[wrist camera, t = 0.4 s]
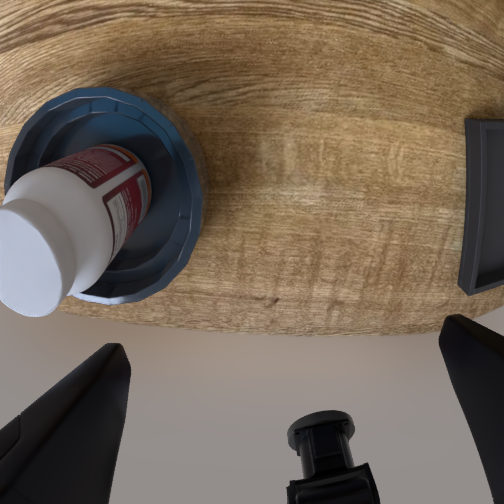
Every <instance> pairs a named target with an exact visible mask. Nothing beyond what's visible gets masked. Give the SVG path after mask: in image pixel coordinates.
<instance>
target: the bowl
mask: <svg viewBox="0 0 504 504" xmlns="http://www.w3.org/2000/svg"><path fill="white" fill-rule="evenodd" d="M102 144H113V145H118V146H121V147H123V148H125V149H127V150H129V151H130V152H132V153H133V154H135V155H136V156H137V157H138V158H139V159H140V161H141V162H142V163H143V165H144V166H145V168H146V170H147V172H148V175H149V177H150V181H151V190H152V194H151V202H150V206H149V209H148V211H147V213H146V215H145V217H144V219H143V220H142V222H141V223H140V224H139V225H138V227H137V228H136V229H135V231H134V232H133V233H132V234H131V236H130V237H129V238H128V240H127V241H126V242H125V244H124V245H123V246H122V248H121V249H120V250H119V251H118V253H117V254H116V256H115V257H114V258H113V260H112V261H111V263H110V264H109V265H108V267H107V268H106V270H105V271H104V272H103V274H102V275H101V276H100V278H99V279H98V280H97V281H96V282H95V283H94V284H93V285H92V286H91V287H89V288H88V289H86V290H84V291H82V292H80V293H78V294H74V295H72V296H74V297H76V298H78V299H81V300H83V301H88V302H94V303H100V304H106V305H117V304H124V303H131V302H138V301H141V300H143V299H145V298H147V297H149V296H151V295H153V294H154V293H156V292H158V291H160V290H162V289H164V288H165V287H167V286H168V285H169V283H170V282H171V281H172V280H173V279H174V278H175V277H176V276H177V275H178V274H179V273H180V272H181V271H182V270H183V268H184V267H185V266H186V264H187V263H188V261H189V259H190V256H191V254H192V252H193V249H194V247H195V245H196V242H197V240H198V238H199V235H200V233H201V229H202V226H203V223H204V220H205V217H206V214H207V205H208V195H209V184H210V182H209V176H208V172H207V167H206V163H205V158H204V154H203V150H202V148H201V146H200V144H199V143H198V141H197V139H196V137H195V136H194V134H193V132H192V131H191V129H190V127H189V126H188V124H187V122H186V121H185V120H184V119H183V118H182V117H181V116H179V115H178V114H177V113H176V112H175V111H173V110H172V109H171V108H170V107H169V106H167V105H166V104H165V103H164V102H163V101H161V100H159V99H157V98H155V97H152V96H149V95H146V94H144V93H141V92H138V91H135V90H132V89H125V88H117V87H109V86H108V87H87V88H76V89H73V90H71V91H69V92H66V93H64V94H62V95H60V96H58V97H56V98H53V99H51V100H49V101H47V102H46V103H45V104H44V105H43V106H42V107H41V108H40V109H39V110H38V111H37V112H36V113H35V114H34V115H33V116H32V117H31V118H30V119H29V120H28V121H27V122H26V123H25V124H24V125H23V127H22V129H21V131H20V133H19V135H18V137H17V139H16V141H15V143H14V145H13V147H12V149H11V151H10V154H9V158H8V164H7V169H6V175H5V182H4V190H5V196H6V194H7V193H8V191H9V189H10V188H11V187H12V185H13V184H14V183H15V182H16V181H17V180H18V179H19V178H21V177H22V176H23V175H25V174H27V173H29V172H31V171H33V170H35V169H37V168H40V167H42V166H44V165H47V164H49V163H52V162H54V161H57V160H59V159H62V158H64V157H67V156H69V155H72V154H74V153H77V152H79V151H82V150H85V149H87V148H90V147H93V146H97V145H102Z"/></svg>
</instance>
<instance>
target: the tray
mask: <svg viewBox="0 0 504 504" xmlns="http://www.w3.org/2000/svg"><path fill="white" fill-rule="evenodd" d="M464 120H465V136H466V207H465V223H464V236H463V246H462V255H461V263H460V271H459V278H458V286H459V287H460V288H461V289H462V290H463V291H464V292H465V293H466V294H467V295H468V296H471V295H473V294H477V293H480V292H483V291H486V290H489V289H492V288H495V287H498V286H501V285H504V120H503V119H466V118H465V119H464Z"/></svg>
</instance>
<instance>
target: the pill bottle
mask: <svg viewBox="0 0 504 504" xmlns="http://www.w3.org/2000/svg"><path fill="white" fill-rule="evenodd" d="M151 194H152V190H151V181H150V177H149V175H148V172H147V170H146V168H145V166H144V165H143V163H142V162H141V161H140V159H139V158H138V157H137V156H136V155H135V154H133V153H132V152H130V151H129V150H127V149H125V148H123V147H121V146H118V145H113V144H102V145H97V146H93V147H90V148H87V149H85V150H82V151H79V152H77V153H74V154H72V155H69V156H67V157H64V158H62V159H59V160H57V161H54V162H52V163H49V164H47V165H44V166H42V167H40V168H37V169H35V170H33V171H31V172H29V173H27V174H25V175H23V176H22V177H21V178H19V179H18V180H17V181H16V182H15V183H14V184H13V185H12V187H11V188H10V189H9V191H8V193H7V194H6V196H5V198H4V201H3V204H2V206H0V300H1V301H2V302H3V303H4V304H5V305H7V306H8V307H9V308H11V309H12V310H14V311H16V312H18V313H20V314H22V315H26V316H30V317H41V316H45V315H47V314H50V313H51V312H52V311H54V310H55V309H56V308H57V307H58V305H59V304H60V303H61V302H62V300H63V299H64V298H65V297H66V296H69V295H74V294H78V293H80V292H82V291H84V290H86V289H88V288H89V287H91V286H92V285H93V284H94V283H95V282H96V281H97V280H98V279H99V278H100V276H101V275H102V274H103V272H104V271H105V270H106V268H107V267H108V265H109V264H110V263H111V261H112V260H113V258H114V257H115V256H116V254H117V253H118V251H119V250H120V249H121V248H122V246H123V245H124V244H125V242H126V241H127V240H128V238H129V237H130V236H131V234H132V233H133V232H134V231H135V229H136V228H137V227H138V225H139V224H140V223H141V222H142V220H143V219H144V217H145V215H146V213H147V211H148V209H149V206H150V202H151Z"/></svg>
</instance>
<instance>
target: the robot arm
mask: <svg viewBox="0 0 504 504" xmlns="http://www.w3.org/2000/svg"><path fill="white" fill-rule="evenodd" d="M439 347H440V350H441V352H442V355H443V358H444V361H445V364H446V367H447V370H448V373H449V376H450V379H451V382H452V385H453V388H454V390H455V393H456V395H457V398H458V400H459V403H460V405H461V408H462V410H463V412H464V415H465V417H466V420H467V423H468V425H469V428H470V430H471V433H472V436H473V438H474V441H475V444H476V446H477V450H478V452H479V455H480V458H481V461H482V464H483V467H484V471H485V474H486V477H487V480H488V483H489V486H490V490H491V494H492V497H493V498H494V499H493V501H494V504H504V336H502V335H500V334H498V333H496V332H494V331H492V330H490V329H488V328H486V327H484V326H482V325H480V324H478V323H476V322H475V321H472V320H471V319H469V318H467V317H465V316H463V315H461V314H453V315H449V316H447V317H446V318H445V320H444V323H443V327H442V330H441V333H440V336H439ZM130 377H131V366H130V363H129V361H128V358H127V356H126V353H125V350H124V348H123V346H122V345H121V344H120V343H107V344H105V345H104V346H103V347H101V348H100V349H99V350H98V351H96V352H95V353H94V354H93V355H91V356H90V357H89V358H88V359H86V360H85V361H84V362H83V363H81V364H80V365H79V366H78V367H76V368H75V369H74V370H73V371H72V372H70V373H69V374H68V375H67V376H65V377H64V378H63V379H62V380H60V381H59V382H58V383H57V384H56V385H54V386H53V387H52V388H51V389H49V390H48V391H47V392H46V393H45V394H43V395H42V396H41V397H40V398H38V399H37V400H36V401H35V402H34V403H33V404H31V405H30V406H29V407H28V408H26V409H25V410H24V411H23V412H22V413H21V415H18V416H17V417H15V418H14V419H13V420H12V421H11V422H9V423H8V424H7V425H6V426H4V427H3V428H2V429H1V430H0V504H109V498H110V492H111V487H112V481H113V476H114V471H115V466H116V461H117V455H118V451H119V446H120V442H121V437H122V433H123V428H124V423H125V418H126V409H127V401H128V392H129V385H130ZM349 433H350V420H349V419H342V420H338V421H333V422H329V423H324V424H319V425H314V426H308V427H303V428H297V429H294V430H293V435H294V440H295V445H296V451H297V455H298V456H301V462H302V469H303V477H304V479H301V480H292V481H290V486H288V487H286V488H287V504H380V498H379V494H378V490H377V487H376V484H375V481H374V479H373V476H372V472H371V470H370V467H369V464H368V463H364V464H363V465H360V466H357V467H355V466H354V462H353V458H352V455H351V451H350V447H349Z"/></svg>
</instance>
